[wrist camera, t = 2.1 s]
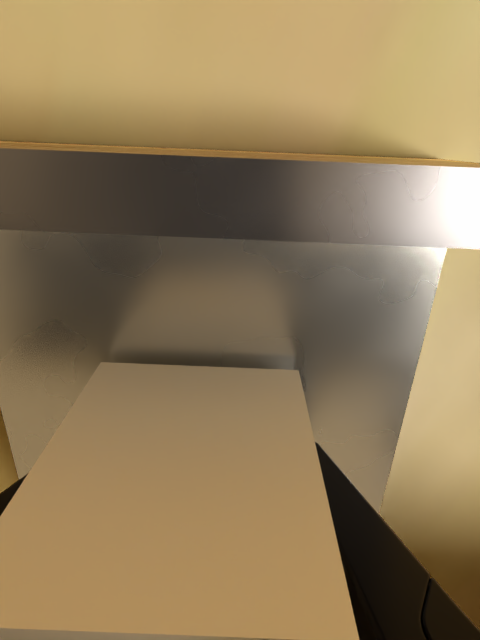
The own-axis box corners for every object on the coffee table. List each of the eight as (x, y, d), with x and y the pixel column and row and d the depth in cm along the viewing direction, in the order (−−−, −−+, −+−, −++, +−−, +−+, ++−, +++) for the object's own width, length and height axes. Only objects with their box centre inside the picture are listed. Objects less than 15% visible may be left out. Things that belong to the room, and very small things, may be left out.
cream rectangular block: (100, 362, 8) (-71, 624, 4) (298, 369, 8) (360, 642, 4) (133, 626, 12) (66, 913, 7) (268, 631, 12) (281, 922, 7)
